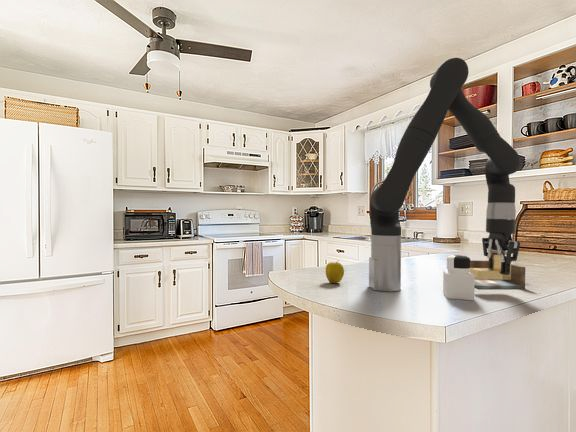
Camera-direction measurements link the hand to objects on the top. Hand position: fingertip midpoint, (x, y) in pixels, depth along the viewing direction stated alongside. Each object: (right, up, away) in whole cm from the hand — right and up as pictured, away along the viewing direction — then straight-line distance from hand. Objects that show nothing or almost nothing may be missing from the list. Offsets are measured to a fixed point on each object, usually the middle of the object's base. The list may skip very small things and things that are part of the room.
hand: (498, 272), depth 99 cm
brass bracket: (-3, -2, 0) cm, 3 cm away
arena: (+4, -6, +13) cm, 15 cm away
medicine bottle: (-16, -6, -5) cm, 18 cm away
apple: (-49, -6, +11) cm, 51 cm away
